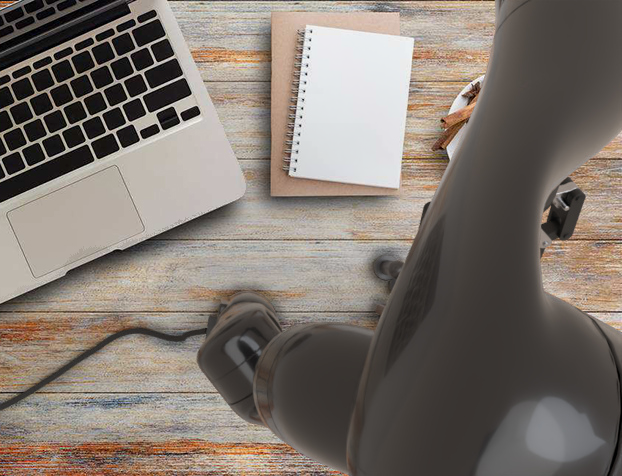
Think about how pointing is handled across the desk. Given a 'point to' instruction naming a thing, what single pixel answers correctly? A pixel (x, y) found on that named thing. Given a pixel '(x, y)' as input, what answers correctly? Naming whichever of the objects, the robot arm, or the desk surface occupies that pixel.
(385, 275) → the grey pawns
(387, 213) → the desk surface
